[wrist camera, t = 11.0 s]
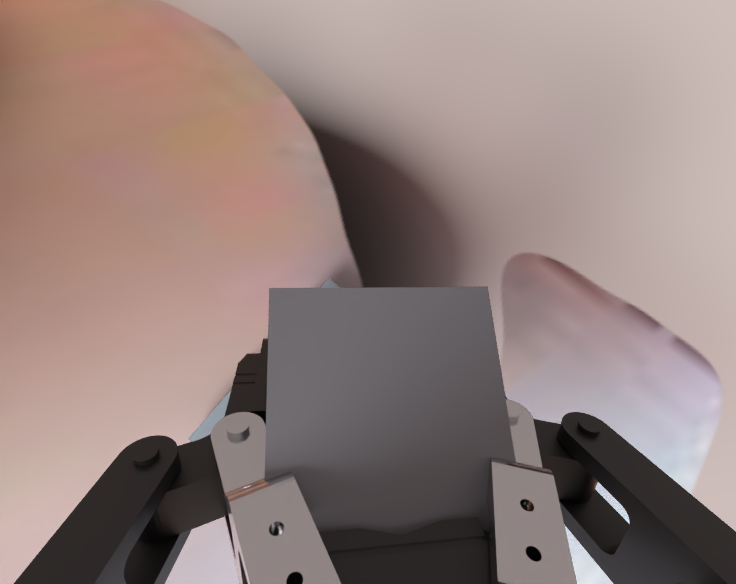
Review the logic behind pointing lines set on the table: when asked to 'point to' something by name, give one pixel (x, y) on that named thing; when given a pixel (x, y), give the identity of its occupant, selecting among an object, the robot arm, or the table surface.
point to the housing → (385, 403)
